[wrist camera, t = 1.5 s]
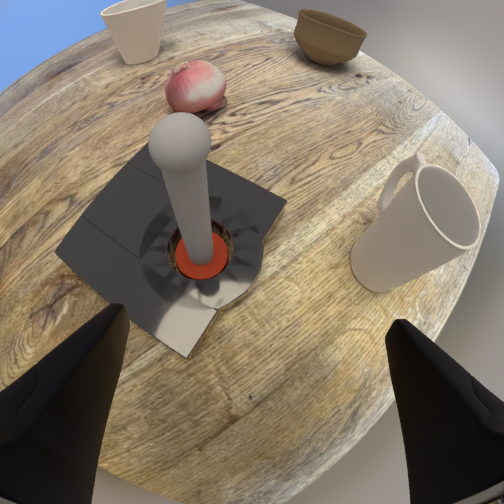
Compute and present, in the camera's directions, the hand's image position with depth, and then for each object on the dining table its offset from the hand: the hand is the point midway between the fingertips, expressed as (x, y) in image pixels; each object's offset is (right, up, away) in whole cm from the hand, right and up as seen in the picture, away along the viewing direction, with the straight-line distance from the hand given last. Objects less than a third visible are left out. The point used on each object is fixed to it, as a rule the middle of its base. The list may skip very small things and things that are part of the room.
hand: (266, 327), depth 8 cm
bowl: (+13, +39, +33) cm, 52 cm away
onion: (-8, +21, +24) cm, 33 cm away
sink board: (-8, +4, +17) cm, 19 cm away
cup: (-21, +39, +30) cm, 53 cm away
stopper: (-5, +2, +16) cm, 17 cm away
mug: (+12, +3, +18) cm, 22 cm away
